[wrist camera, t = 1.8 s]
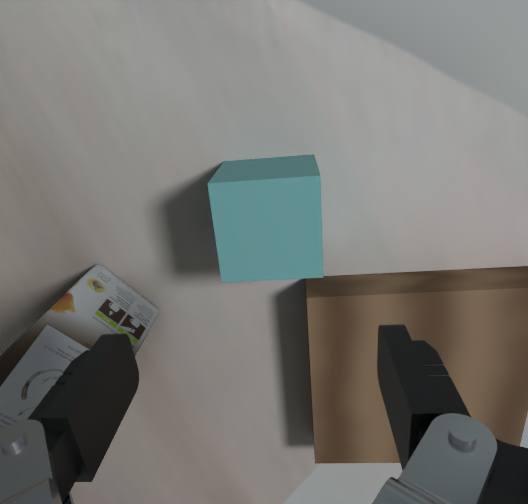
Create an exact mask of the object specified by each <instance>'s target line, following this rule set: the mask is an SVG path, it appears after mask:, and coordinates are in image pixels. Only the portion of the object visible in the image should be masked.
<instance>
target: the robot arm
mask: <svg viewBox="0 0 528 504" xmlns="http://www.w3.org/2000/svg"><path fill="white" fill-rule="evenodd" d="M377 374H378V382H379V387H380V390H381V394H382V398H383V401H384V405H385V408H386V412H387V416H388V419H389V423H390V426H391V430H392V434H393V437H394V441H395V445H396V448H397V452H398V455H399V459H400V463H401V466H402V470H403V472H402V473H401V475H400V477H399V478H398V479H395V478H393V477H391V478H389V479H388V480H387V481H386V482H385V484H384V485H383V487H382V488H381V490H380V492H379V493H378V495H377V497H376V498H375V500H374V502H373V503H372V504H528V448H524V447H520V446H516V445H512V444H508V443H505V442H503V441H500V440H498V439H496V438H495V437H494V435H493V434H492V432H491V431H490V430H489V429H488V428H487V427H486V426H485V425H484V424H482V423H481V422H479V421H478V420H476V419H474V418H472V417H471V416H470V414H469V412H468V410H467V408H466V406H465V404H464V402H463V400H462V398H461V396H460V394H459V392H458V390H457V389H456V387H455V385H454V383H453V381H452V379H451V377H449V373H448V371H447V369H446V367H445V366H444V363H443V362H442V360H441V358H440V356H439V354H438V352H437V351H436V350H435V349H434V348H433V347H432V346H430V345H429V344H428V343H427V342H426V341H424V340H416V341H412V339H411V337H410V335H409V333H408V330H407V328H406V326H405V325H404V324H395V325H379V327H378V349H377ZM138 383H139V371H138V367H137V363H136V360H135V356H134V352H133V348H132V345H131V341H130V338H129V336H128V335H127V334H126V333H123V334H103V335H101V336H100V337H99V339H98V340H97V341H96V343H95V344H94V345H93V347H92V348H91V350H86V351H84V352H83V353H82V354H80V355H79V356H78V357H76V358H75V359H74V360H72V361H71V363H70V364H69V365H68V367H67V368H66V369H65V371H64V372H63V375H61V376H60V377H59V378H58V380H57V381H56V382H55V385H53V386H52V387H51V389H50V390H49V391H48V393H47V394H46V395H45V397H44V398H43V399H42V401H41V402H40V403H39V404H38V406H37V407H36V408H35V410H34V411H33V412H32V414H31V415H30V416H29V417H28V419H27V420H22V421H18V422H15V423H13V424H10V425H8V426H6V427H5V428H3V429H1V430H0V504H74V502H73V498H72V495H71V493H70V490H71V488H72V487H73V485H74V483H75V482H92V480H93V478H94V476H95V474H96V472H97V470H98V468H99V466H100V464H101V462H102V460H103V458H104V456H105V454H106V452H107V450H108V448H109V446H110V444H111V442H112V440H113V438H114V436H115V434H116V431H117V429H118V427H119V425H120V423H121V421H122V419H123V417H124V415H125V413H126V411H127V409H128V407H129V405H130V403H131V401H132V399H133V397H134V395H135V393H136V391H137V388H138Z"/></svg>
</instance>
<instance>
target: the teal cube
mask: <svg viewBox="0 0 528 504" xmlns="http://www.w3.org/2000/svg"><path fill="white" fill-rule="evenodd" d="M207 185H208V192H209V198H210V205H211V212H212V219H213V226H214V233H215V240H216V246H217V253H218V260H219V267H220V274H221V281H222V283H223V282H243V281H263V280H284V279H304V278H323V246H322V214H321V181H320V173H319V169H318V166H317V163H316V159H315V156H314V155H301V156H288V157H275V158H262V159H249V160H236V161H224V162H223V163H222V165H221V166H220V167H219V169H218V170H217V171H216V173H215V174H214V175H213V177H212V178H211V179H210V181H209V182H208V183H207Z"/></svg>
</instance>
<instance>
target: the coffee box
mask: <svg viewBox="0 0 528 504" xmlns="http://www.w3.org/2000/svg"><path fill="white" fill-rule="evenodd" d="M158 314H159V310H158V309H157V308H156V307H154V306H153V305H152V304H150V303H149V302H148V301H147V300H145V299H144V298H143V297H142V296H140V295H139V294H138V293H136V292H135V291H134V290H133V289H131V288H130V287H129V286H127V285H126V284H125V283H123V282H122V281H121V280H120V279H118V278H117V277H116V276H114V275H113V274H112V273H111V272H109V271H108V270H107V269H105V268H104V267H103V266H101V265H95V266H94V267H92V268H91V269H90V270H89V271H88V272H87V273H86V274H85V275H84V276H83V277H81V278H80V279H79V280H78V281H77V282H76V283H75V284H74V285H73V286H72V287H71V288H70V289H69V290H68V291H67V292H66V293H65V294H64V295H63V296H62V297H61V298H60V299H59V300H58V301H57V302H56V303H55V304H54V305H53V306H52V307H51V308H50V309H49V310H48V311H47V312H46V313H45V314H43V315H42V316H41V317H40V318H39V319H38V320H37V321H36V322H35V323H34V324H33V325H32V326H31V327H30V328H29V329H28V330H27V331H26V332H25V333H24V334H23V335H22V336H21V337H20V338H19V339H18V340H16V341H15V342H14V343H13V344H12V345H11V346H10V347H9V348H8V349H7V350H6V351H5V352H4V353H3V354H2V355H1V356H0V430H1V429H3V428H5V427H6V426H8V425H10V424H13V423H15V422H18V421H22V420H27V419H28V417H29V416H30V415H31V414H32V412H33V411H34V410H35V408H36V407H37V406H38V404H39V403H40V402H41V401H42V399H43V398H44V397H45V395H46V394H47V393H48V391H49V390H50V389H51V387H52V386H53V385H55V382H56V381H57V380H58V378H59V377H60V376H61V375H63V372H64V371H65V369H66V368H67V367H68V365H69V364H70V363H71V361H72V360H74V359H75V358H76V357H78V356H79V355H80V354H82V353H83V352H84V351H86V350H91V348H92V347H93V345H94V344H95V343H96V341H97V340H98V339H99V337H100V336H101V335H103V334H123V333H126V334H127V335H128V336H129V338H130V341H131V345H132V348H133V352H134V356H135V355H136V353H137V351H138V350H139V348H140V346H141V344H142V343H143V341H144V339H145V337H146V336H147V334H148V332H149V330H150V328H151V326H152V325H153V323H154V321H155V319H156V318H157V316H158Z"/></svg>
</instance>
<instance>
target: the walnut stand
mask: <svg viewBox="0 0 528 504" xmlns="http://www.w3.org/2000/svg"><path fill="white" fill-rule="evenodd" d="M305 283H306V302H307V321H308V341H309V360H310V379H311V398H312V417H313V435H314V451H315V463H400V459H399V455H398V452H397V448H396V445H395V441H394V437H393V434H392V430H391V426H390V423H389V419H388V416H387V412H386V408H385V405H384V401H383V398H382V394H381V390H380V387H379V382H378V374H377V349H378V327H379V325H395V324H404V325H405V326H406V328H407V330H408V333H409V335H410V337H411V339H412V341H416V340H424V341H426V342H427V343H428V344H429V345H430V346H432V347H433V348H434V349H435V350H436V351H437V352H438V354H439V356H440V358H441V360H442V362H443V363H444V366H445V367H446V369H447V371H448V373H449V377H451V379H452V381H453V383H454V385H455V387H456V389H457V390H458V392H459V394H460V396H461V398H462V400H463V402H464V404H465V406H466V408H467V410H468V412H469V414H470V416H471V417H472V418H474V419H476V420H478V421H479V422H481V423H482V424H484V425H485V426H486V427H487V428H488V429H489V430H490V431H491V432H492V434H493V435H494V437H495V438H496V439H498V440H500V441H503V442H505V443H508V444H512V445H516V446H520V442H521V438H522V433H523V430H524V425H525V421H526V417H527V412H528V266H523V267H503V268H483V269H463V270H443V271H423V272H403V273H382V274H362V275H342V276H323V278H305Z"/></svg>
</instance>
